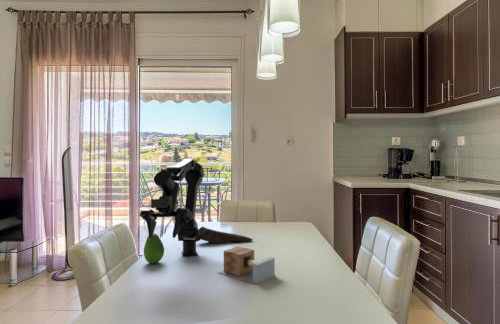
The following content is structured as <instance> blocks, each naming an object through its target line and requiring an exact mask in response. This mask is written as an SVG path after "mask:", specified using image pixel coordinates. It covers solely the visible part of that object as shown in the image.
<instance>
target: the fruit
mask: <svg viewBox="0 0 500 324" xmlns="http://www.w3.org/2000/svg"><path fill="white" fill-rule="evenodd" d="M164 254H165V247H164V243H163V241H162V240H161V238H160V236H159V235H158V234H157V233H153V236H152V238H149V235H148V236H147V237H146V241H145V243H144V248H143V255H144V259H145V260H146V262H147V263H148V264H152V265H153V264H157V263H159V262H160V261H161V260H162V259H163V257H164Z"/></svg>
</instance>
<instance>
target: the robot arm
mask: <svg viewBox="0 0 500 324" xmlns="http://www.w3.org/2000/svg"><path fill="white" fill-rule="evenodd" d="M204 176H205V170H204V168H203V165H202V164H200V163H198V162H197V160H196V159H195V158H183V160H182V161H179V163H176V164H175V165H166V166H165V167H164V168H161V169H160V171H158V172H157V173H156V174H155V176H153V183H154V184H155V185H156V186H157V187H158V188H159V189H160V190H161V191H162V195H160V196H159V197H158V198H155V199H154V198H151V199H150V208H143V209H141V210H140V212H139V217H140V218H142V220H144V221H145V222H146V226H147V233H148V236H149V238H152V236H153V234H155V229H156V226H157V222H158V221H156V220H157V219H158V218H174V226H173V230H172V238H173V239H175V238H176V236H177V241H178V242H182V251H181V252H180V253H181V255H182V257H191V256H192V257H193V256H198V255H199V253H198V251H197V242H200V241H201V239H200V232H199V230H198V229H199V228H198V227H199V226H198V222H197V220H196V218H195V217H196V210H197V200H198V192H199V186H200V185H201V184H202V183H203V180H204V179H203V178H204ZM184 179H185V180H184ZM183 180H184V181H186V184H187V189H186V197H185V207H177V205H178V204H179V201H178V196H179V191H180V190H181V187H180V185H179V183H178V182H182V181H183ZM153 209H155V210H156V211H154V210H153Z"/></svg>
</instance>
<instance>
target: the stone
mask: <svg viewBox="0 0 500 324" xmlns="http://www.w3.org/2000/svg"><path fill="white" fill-rule="evenodd" d="M198 230H199V232H200V241H204V242H208V243H213V244H225V243H226V242H227V243H230V242H231V243H232V242H241V243H242V241H245V242H251V241H253V239H252V238H250V237H248V236H244V235H239V234H236V233H231V232H224V231H220V230H219V231H218V230H214V229H211V228H208V227H205V226H201V227H199V228H198Z"/></svg>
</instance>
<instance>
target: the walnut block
mask: <svg viewBox="0 0 500 324" xmlns="http://www.w3.org/2000/svg"><path fill="white" fill-rule="evenodd" d="M249 260H254V261H255V250H254V249H251V248H248V247H247V248H246V247H243V246H242V247H241V246H235V247H231V248H229V249H225V250H223V271H224V272H226V273H230V274H233V275H237V276H242V275H245V274H247V273H250V272H252V271H253V267H252V266H248V261H249Z"/></svg>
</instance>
